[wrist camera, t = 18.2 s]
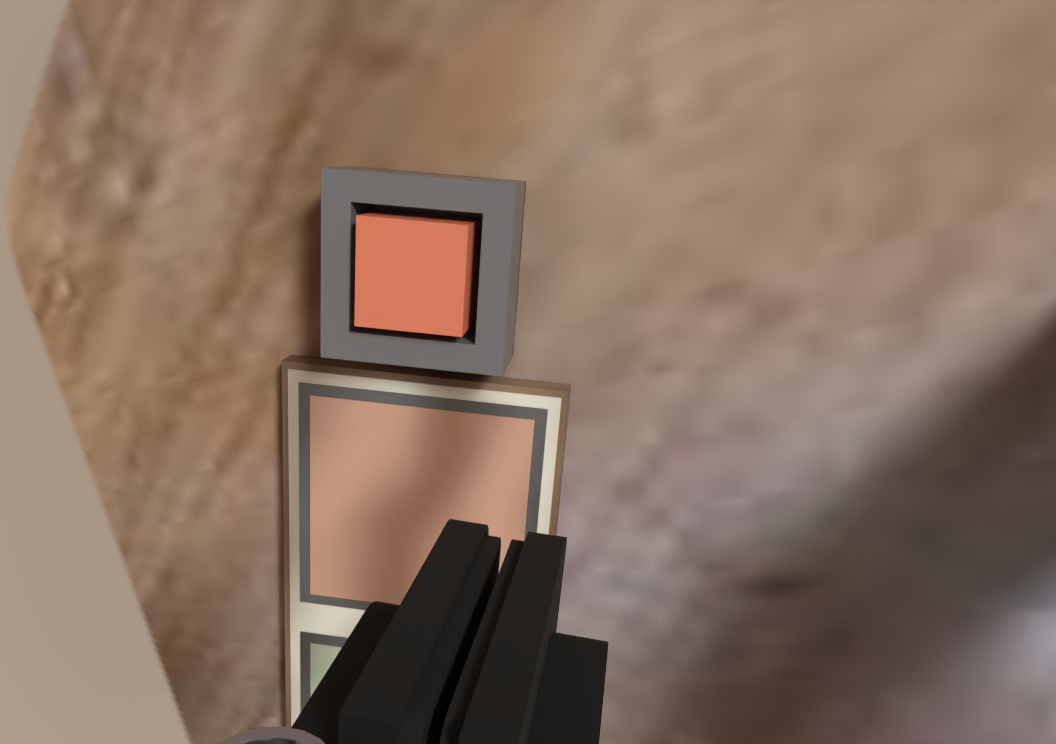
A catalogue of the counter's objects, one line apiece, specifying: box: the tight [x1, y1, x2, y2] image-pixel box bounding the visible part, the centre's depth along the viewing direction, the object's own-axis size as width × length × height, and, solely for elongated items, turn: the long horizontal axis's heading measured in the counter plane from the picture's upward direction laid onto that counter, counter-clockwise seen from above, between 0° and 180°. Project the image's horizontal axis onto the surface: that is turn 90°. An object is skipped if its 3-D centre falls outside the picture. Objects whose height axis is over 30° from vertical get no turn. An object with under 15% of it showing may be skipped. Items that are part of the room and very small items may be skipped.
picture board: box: [282, 355, 571, 728], centre depth 35 cm, size 12×24×1 cm, turn 176°
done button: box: [354, 209, 483, 337], centre depth 29 cm, size 4×4×3 cm
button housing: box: [321, 167, 526, 376], centre depth 29 cm, size 7×7×3 cm
